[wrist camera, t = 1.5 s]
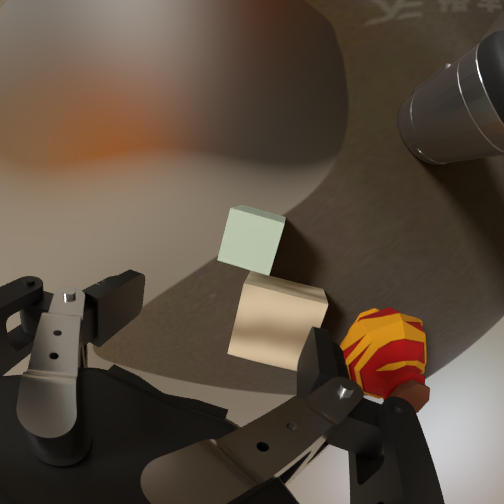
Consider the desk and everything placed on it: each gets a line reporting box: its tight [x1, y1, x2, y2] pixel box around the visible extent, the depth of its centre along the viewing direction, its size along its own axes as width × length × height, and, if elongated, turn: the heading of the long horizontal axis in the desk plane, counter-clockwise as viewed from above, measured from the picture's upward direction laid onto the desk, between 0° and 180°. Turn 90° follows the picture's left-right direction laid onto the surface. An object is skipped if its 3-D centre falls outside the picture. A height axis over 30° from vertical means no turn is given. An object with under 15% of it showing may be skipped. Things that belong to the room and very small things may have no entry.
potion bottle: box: [340, 307, 430, 413], centre depth 25 cm, size 10×10×15 cm
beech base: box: [228, 271, 328, 371], centre depth 31 cm, size 9×9×5 cm
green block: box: [218, 205, 286, 276], centre depth 28 cm, size 5×5×7 cm
